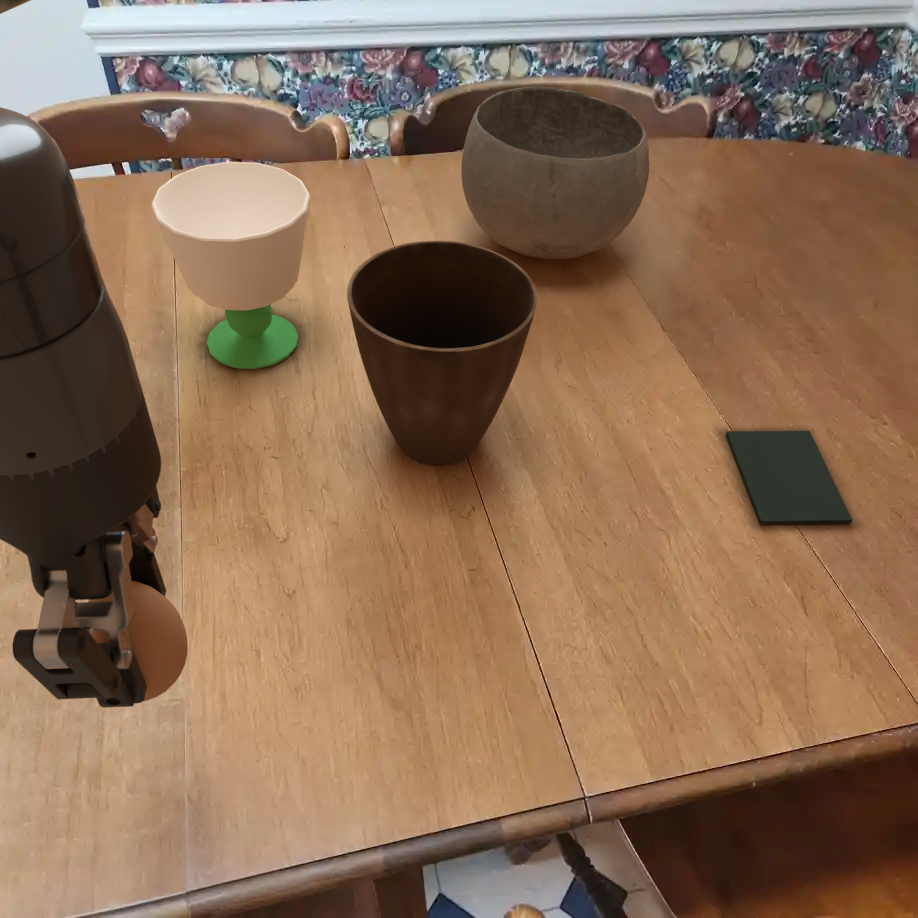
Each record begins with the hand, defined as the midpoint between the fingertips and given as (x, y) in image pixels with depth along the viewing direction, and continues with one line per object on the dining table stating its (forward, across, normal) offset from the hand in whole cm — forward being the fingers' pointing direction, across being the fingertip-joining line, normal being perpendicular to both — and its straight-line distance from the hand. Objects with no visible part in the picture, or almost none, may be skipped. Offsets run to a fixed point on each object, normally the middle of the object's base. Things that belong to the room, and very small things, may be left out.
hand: (135, 645), depth 46 cm
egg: (+4, 0, 0) cm, 4 cm away
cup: (+16, +46, 0) cm, 49 cm away
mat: (+17, +26, -48) cm, 57 cm away
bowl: (+16, +65, -32) cm, 74 cm away
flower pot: (+16, +32, -18) cm, 40 cm away
